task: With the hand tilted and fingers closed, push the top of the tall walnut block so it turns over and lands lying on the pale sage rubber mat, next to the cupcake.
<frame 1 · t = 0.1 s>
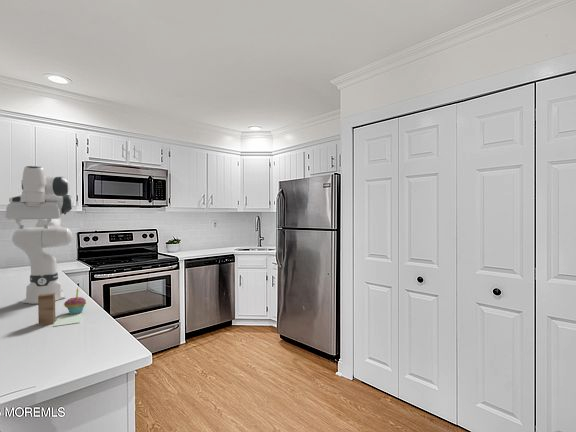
hand: (33, 228, 154), 39 cm above the counter, tool pointing down, fingers open, 8 cm apart
mat: (68, 320, 141), on the counter
cupcake: (75, 313, 151), on the counter
block: (47, 322, 137), on the counter
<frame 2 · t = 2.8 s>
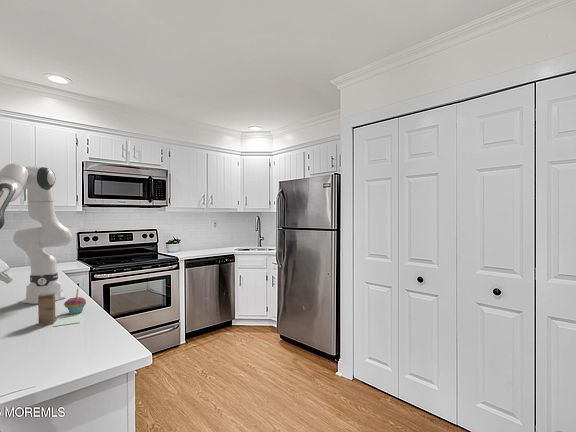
hand: (10, 281, 132), 18 cm above the counter, tool tilted 45°, fingers closed
nothing on the counter moved.
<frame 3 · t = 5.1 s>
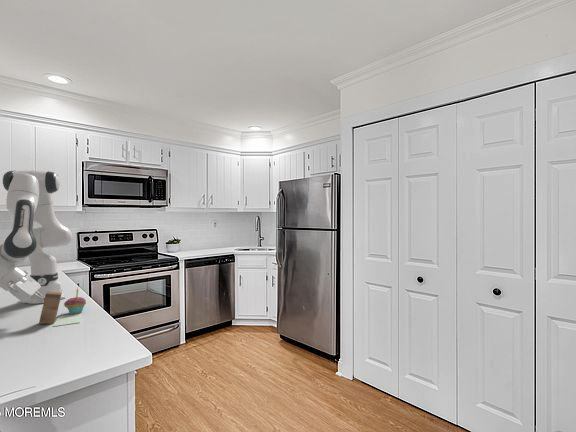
hand: (43, 300, 137), 9 cm above the counter, tool tilted 45°, fingers closed
block: (47, 321, 138), on the counter, tilted 12°
everything else where it was.
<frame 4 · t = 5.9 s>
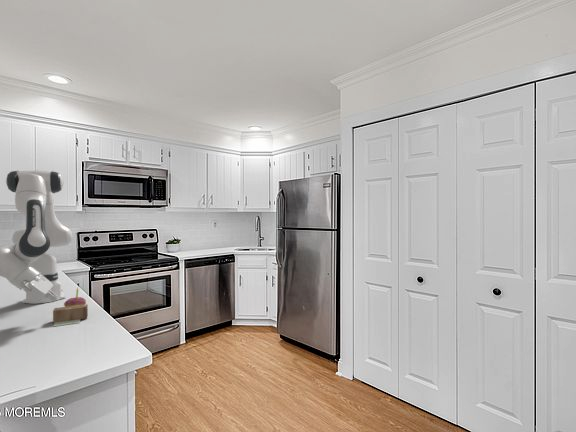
hand: (56, 299, 139), 9 cm above the counter, tool tilted 45°, fingers closed
block: (54, 315, 139), point 3 cm above the counter, tilted 90°, touching mat
everything else where it was.
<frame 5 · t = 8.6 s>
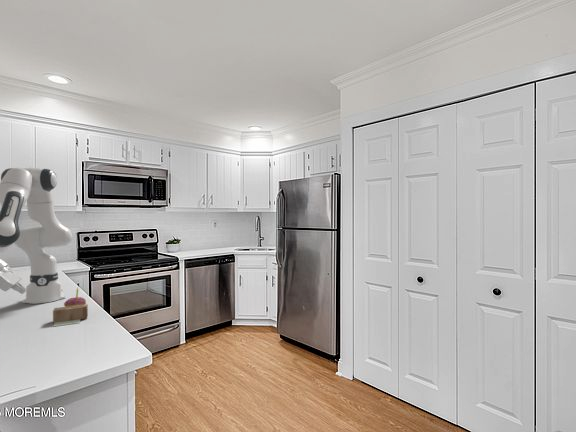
hand: (24, 292, 134), 14 cm above the counter, tool tilted 45°, fingers closed
nothing on the counter moved.
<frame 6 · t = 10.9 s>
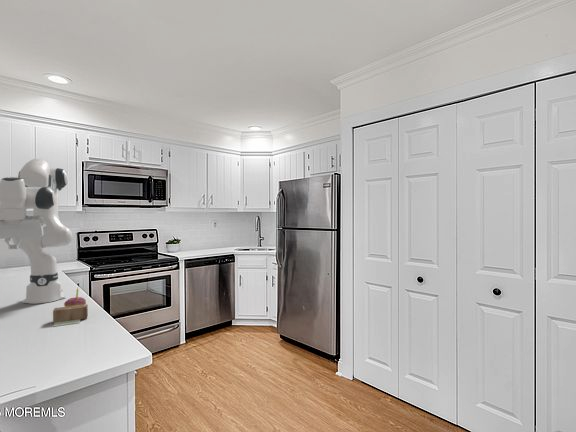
hand: (13, 249, 137), 31 cm above the counter, tool pointing down, fingers closed
nothing on the counter moved.
at the end: block tilted 90°; block inside the target area (6.6 cm from its centre), point 2.8 cm above the counter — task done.
